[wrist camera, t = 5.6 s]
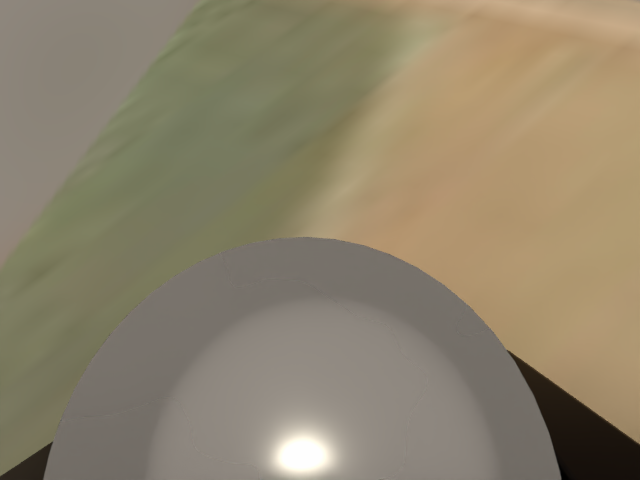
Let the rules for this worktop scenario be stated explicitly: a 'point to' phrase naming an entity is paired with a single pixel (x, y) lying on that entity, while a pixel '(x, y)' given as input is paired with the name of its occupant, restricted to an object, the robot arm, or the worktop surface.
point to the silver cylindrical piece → (302, 378)
